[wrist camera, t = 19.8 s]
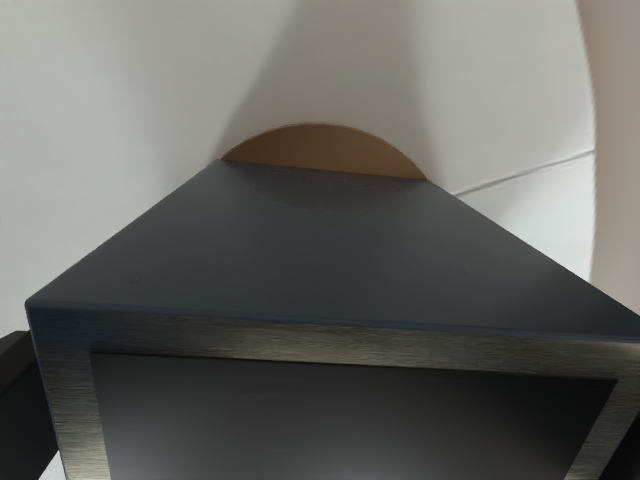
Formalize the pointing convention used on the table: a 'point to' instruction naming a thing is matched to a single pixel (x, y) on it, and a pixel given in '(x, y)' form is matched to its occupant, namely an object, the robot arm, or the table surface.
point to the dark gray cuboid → (329, 340)
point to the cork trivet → (325, 150)
